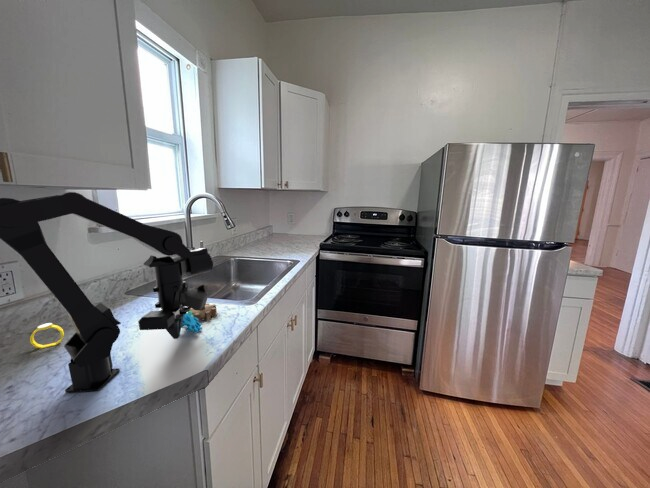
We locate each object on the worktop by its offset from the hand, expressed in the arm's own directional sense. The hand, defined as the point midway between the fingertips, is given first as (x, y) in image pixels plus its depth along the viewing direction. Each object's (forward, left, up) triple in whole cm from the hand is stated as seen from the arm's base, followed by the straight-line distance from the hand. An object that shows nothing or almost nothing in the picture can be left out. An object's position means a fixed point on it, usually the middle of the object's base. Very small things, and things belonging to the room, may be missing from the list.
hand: (176, 338), depth 69 cm
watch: (+3, +34, -2) cm, 34 cm away
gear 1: (+8, +1, -2) cm, 8 cm away
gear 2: (+17, 0, -2) cm, 17 cm away
